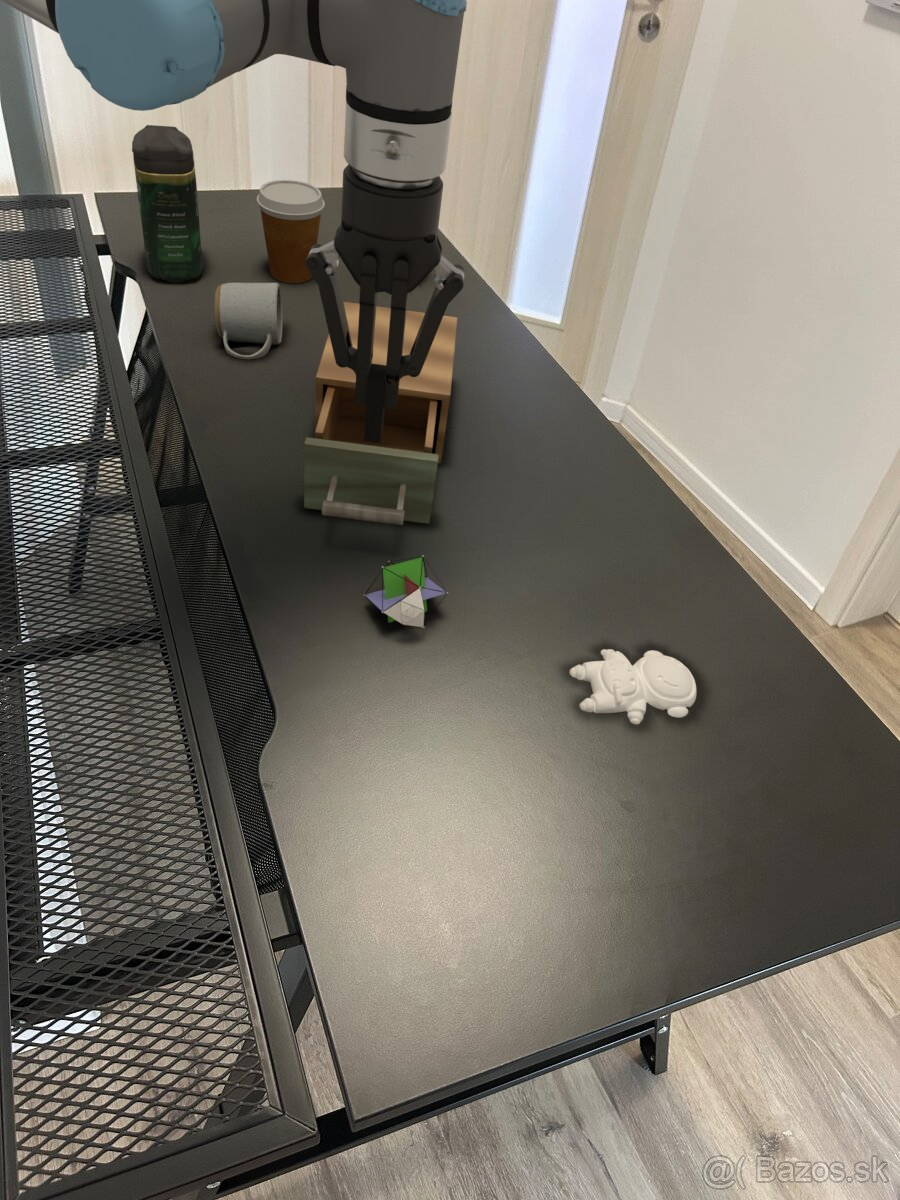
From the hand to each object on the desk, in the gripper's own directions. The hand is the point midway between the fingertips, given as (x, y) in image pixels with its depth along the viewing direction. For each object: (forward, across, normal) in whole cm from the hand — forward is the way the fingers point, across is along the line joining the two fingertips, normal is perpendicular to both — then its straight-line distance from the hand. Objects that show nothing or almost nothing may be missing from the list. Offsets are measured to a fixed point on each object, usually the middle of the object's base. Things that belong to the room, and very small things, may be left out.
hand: (373, 433), depth 80 cm
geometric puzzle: (+14, +5, -11) cm, 18 cm away
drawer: (+12, 0, +8) cm, 15 cm away
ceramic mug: (+14, -19, +36) cm, 43 cm away
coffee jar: (+14, -34, +54) cm, 65 cm away
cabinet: (+13, 0, +22) cm, 26 cm away
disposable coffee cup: (+14, -18, +57) cm, 61 cm away
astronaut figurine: (+13, +27, -16) cm, 34 cm away
